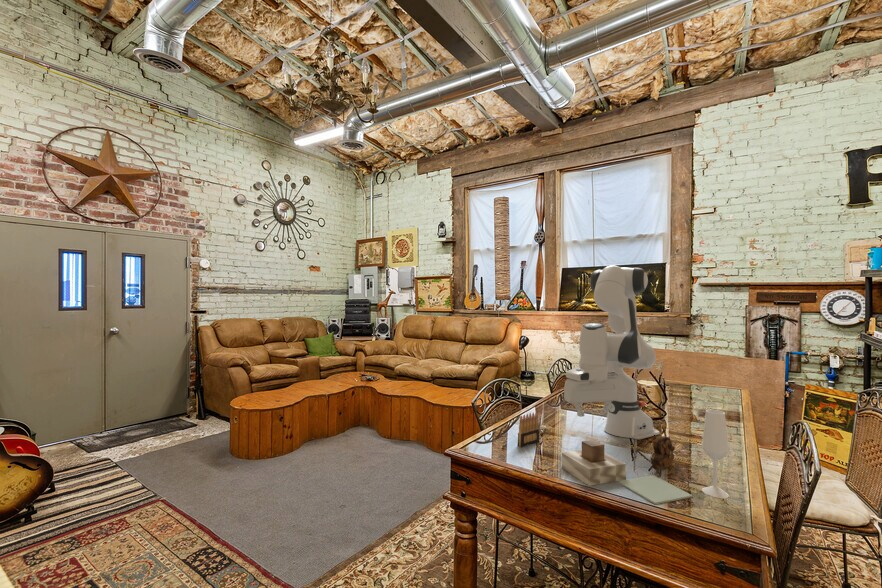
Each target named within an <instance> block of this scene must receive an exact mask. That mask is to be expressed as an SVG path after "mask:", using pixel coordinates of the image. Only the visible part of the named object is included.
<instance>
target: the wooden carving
mask: <svg viewBox="0 0 882 588" xmlns="http://www.w3.org/2000/svg"><path fill="white" fill-rule="evenodd" d="M652 449H653V452H652V454H651V455H650V462H651V464H652V465H651V466H652V470H659V471H661V470H662V469H663V468H665V469H668V468H669V467H670V466H671V465H672V464H673V462H674V458H675V454H674V451H675V450H676V446H673V442H672V440H671V438H670V436H665V435H663V436H662V435H658V436H657V435H656V438H654V440H653V441H652Z"/></svg>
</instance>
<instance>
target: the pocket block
mask: <svg viewBox="0 0 882 588" xmlns="http://www.w3.org/2000/svg"><path fill="white" fill-rule="evenodd" d="M561 469H563V470H565V471H566V472H568V473H569V474H571V475H573V476H574V477H575V478H577V479H579V480H580V481H581V482H583V483H585V485H588V487H591V486H594V485H595V486H596V485H601V484H602V485H603V484H607V483H613V482H618V481H622V480H627V463H625V462H624V461H621V460H620V459H617V458H616V457H613V456H612V455H609V454H608V453H606V452H604V461H601V462H594V463H591V462H589V461H587V460H586V459H584V458H582V449H579V450H573V451H566V452H561Z"/></svg>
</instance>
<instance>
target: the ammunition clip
mask: <svg viewBox="0 0 882 588" xmlns="http://www.w3.org/2000/svg"><path fill="white" fill-rule="evenodd" d="M531 413H532V414H531ZM538 416H539V415H538V412H537V411H535V413H534V411H533V412H530V413H529V414H528V413H526V415H525V414H523V416H522V414H521V415H520V416H519V426H518V433H517V447H519V448H524V447H528V446H530V445H531V446H532V445H533V444H537V443H540V429H539V419H538V418H539V417H538Z"/></svg>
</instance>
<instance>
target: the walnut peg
mask: <svg viewBox="0 0 882 588" xmlns="http://www.w3.org/2000/svg"><path fill="white" fill-rule="evenodd" d="M581 450H582V458H584V459H586V460H587V461H589V462H591V463H594V462H601V461H604V453H605V444H604V443H602V442H599V441H598V440H596V439H586V440H581Z"/></svg>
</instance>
